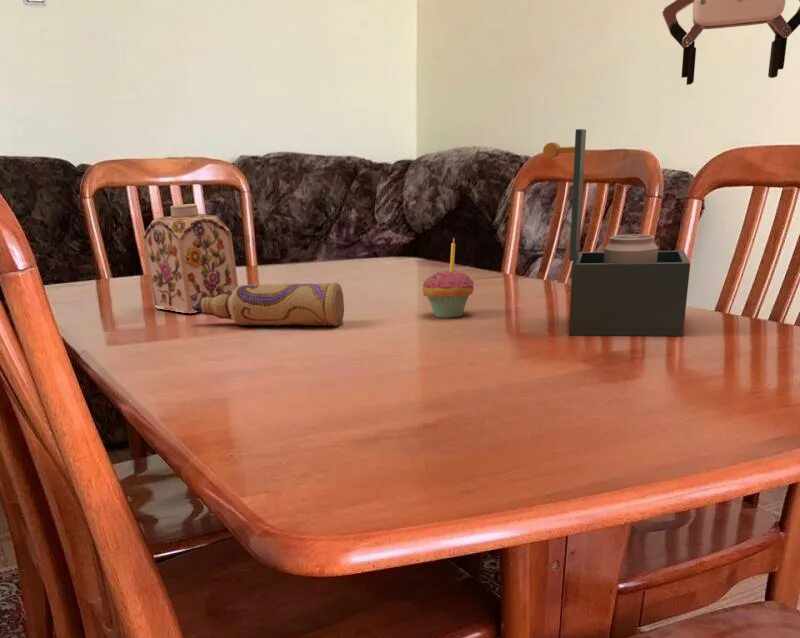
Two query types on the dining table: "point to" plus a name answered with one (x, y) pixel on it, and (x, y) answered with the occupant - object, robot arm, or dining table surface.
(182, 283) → the decorative jar
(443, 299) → the cupcake
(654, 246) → the can
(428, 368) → the dining table surface
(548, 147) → the lid
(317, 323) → the decorative bottle
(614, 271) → the chest
